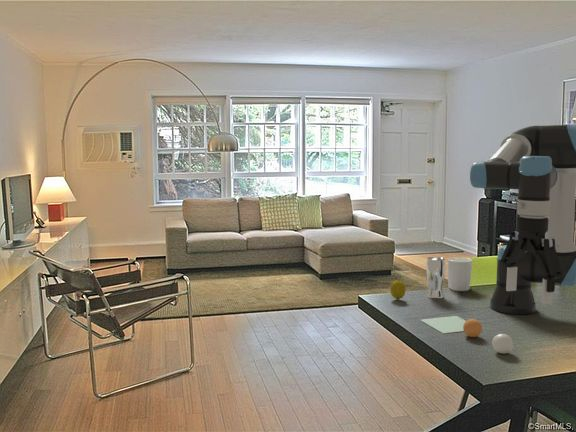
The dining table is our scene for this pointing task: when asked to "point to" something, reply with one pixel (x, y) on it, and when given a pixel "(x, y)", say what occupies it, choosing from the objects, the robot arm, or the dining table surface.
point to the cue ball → (502, 343)
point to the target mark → (446, 324)
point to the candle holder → (459, 273)
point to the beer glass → (435, 277)
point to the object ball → (472, 328)
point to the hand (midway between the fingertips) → (528, 297)
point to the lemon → (398, 289)
